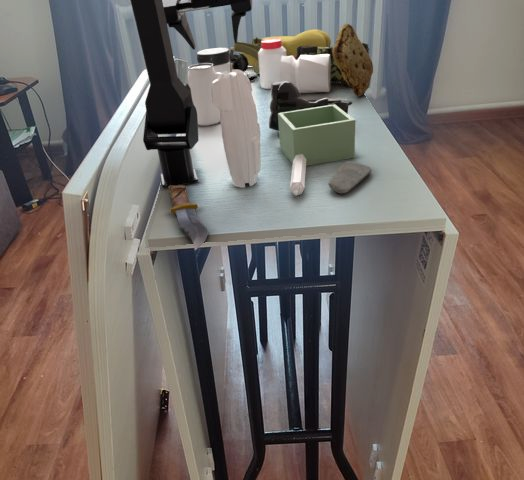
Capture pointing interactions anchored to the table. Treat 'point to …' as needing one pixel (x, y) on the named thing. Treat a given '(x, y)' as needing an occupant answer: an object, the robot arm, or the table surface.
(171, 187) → the knife
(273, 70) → the pill bottle
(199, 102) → the can
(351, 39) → the pastry
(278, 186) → the table surface
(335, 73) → the toy car
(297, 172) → the marker
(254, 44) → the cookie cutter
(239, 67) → the toy
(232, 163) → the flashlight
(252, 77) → the pen
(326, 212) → the table surface
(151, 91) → the robot arm
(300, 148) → the bin
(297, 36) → the toy
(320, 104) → the cat figurine
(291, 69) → the vase
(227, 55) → the jar
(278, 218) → the table surface
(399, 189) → the table surface
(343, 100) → the pen
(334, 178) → the stone
